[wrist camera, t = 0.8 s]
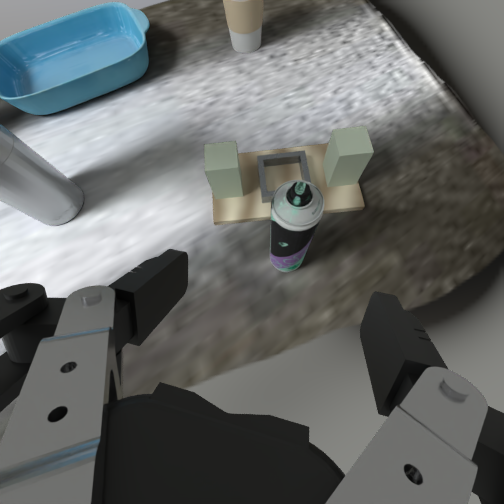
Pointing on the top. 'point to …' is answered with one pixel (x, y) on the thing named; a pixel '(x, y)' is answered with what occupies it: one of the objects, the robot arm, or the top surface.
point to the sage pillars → (335, 162)
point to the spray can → (293, 222)
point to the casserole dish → (74, 58)
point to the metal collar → (280, 160)
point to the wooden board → (275, 176)
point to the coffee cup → (244, 23)
